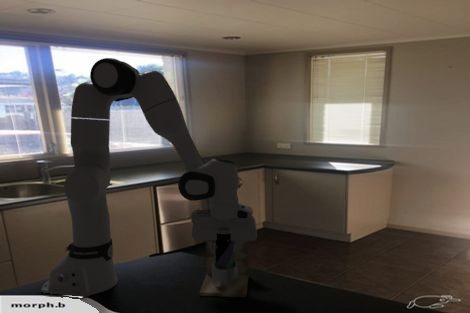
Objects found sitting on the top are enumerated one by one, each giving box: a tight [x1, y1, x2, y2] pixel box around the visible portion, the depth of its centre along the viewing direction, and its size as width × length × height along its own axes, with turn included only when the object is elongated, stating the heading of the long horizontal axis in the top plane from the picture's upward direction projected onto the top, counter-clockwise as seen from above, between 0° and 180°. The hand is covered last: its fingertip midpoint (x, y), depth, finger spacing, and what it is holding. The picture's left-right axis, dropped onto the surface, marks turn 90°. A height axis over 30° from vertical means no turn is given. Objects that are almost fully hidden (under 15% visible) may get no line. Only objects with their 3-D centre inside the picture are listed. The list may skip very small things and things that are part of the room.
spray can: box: [216, 227, 233, 269], centre depth 110 cm, size 6×6×20 cm
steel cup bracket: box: [212, 260, 238, 289], centre depth 112 cm, size 8×10×6 cm
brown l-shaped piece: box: [198, 240, 250, 298], centre depth 111 cm, size 14×14×13 cm
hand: (224, 253), depth 111 cm, fingers closed on spray can, 5 cm apart
